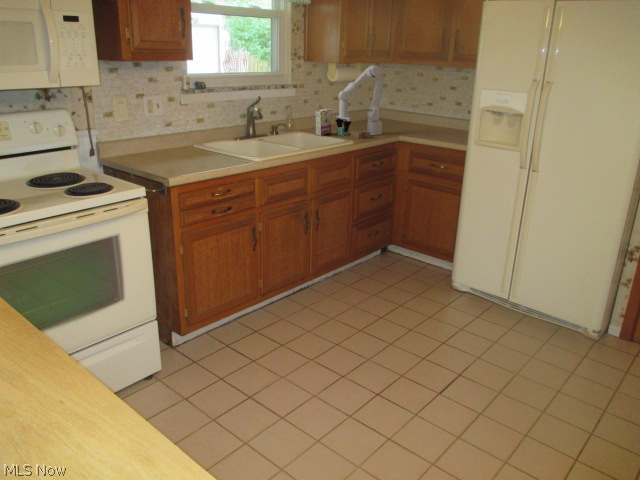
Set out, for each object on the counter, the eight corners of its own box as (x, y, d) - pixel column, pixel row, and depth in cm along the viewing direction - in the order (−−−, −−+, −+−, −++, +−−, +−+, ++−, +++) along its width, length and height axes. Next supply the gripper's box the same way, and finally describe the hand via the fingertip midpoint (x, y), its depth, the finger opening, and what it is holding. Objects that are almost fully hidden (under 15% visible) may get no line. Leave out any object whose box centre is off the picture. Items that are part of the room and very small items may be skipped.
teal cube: (344, 134, 360) (344, 126, 358) (348, 135, 356) (348, 127, 354) (337, 134, 357) (337, 127, 356) (341, 136, 353) (342, 128, 352)
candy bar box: (325, 133, 362) (325, 108, 356) (331, 134, 359) (331, 109, 353) (315, 135, 354) (315, 110, 348) (321, 136, 351) (321, 110, 345)
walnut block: (361, 136, 355) (361, 130, 353) (369, 138, 348) (369, 132, 346) (350, 137, 350) (350, 131, 349) (358, 139, 343) (358, 133, 342)
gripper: (332, 109, 355) (332, 129, 360) (344, 111, 343) (343, 132, 348) (341, 108, 358) (340, 129, 363) (353, 111, 347) (352, 132, 351)
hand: (342, 131), depth 356 cm, fingers open, 7 cm apart
